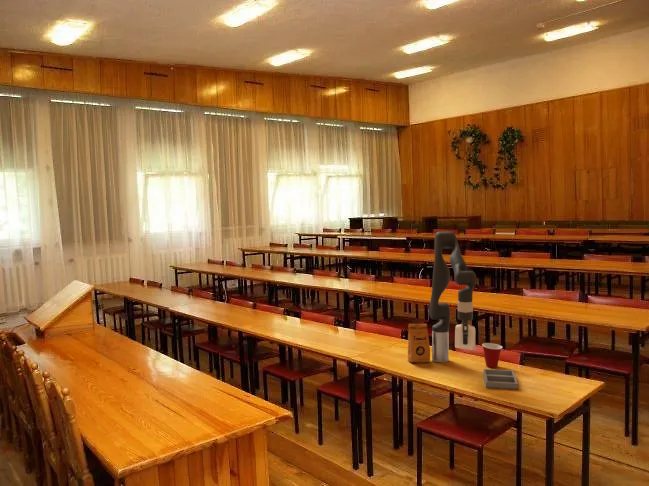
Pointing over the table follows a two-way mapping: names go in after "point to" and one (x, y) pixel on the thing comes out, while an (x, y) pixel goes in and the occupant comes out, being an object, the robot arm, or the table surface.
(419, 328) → the coffee package
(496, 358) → the plastic cup
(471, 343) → the beige rounded slab
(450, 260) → the robot arm
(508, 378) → the grey divided tray
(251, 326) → the table surface
